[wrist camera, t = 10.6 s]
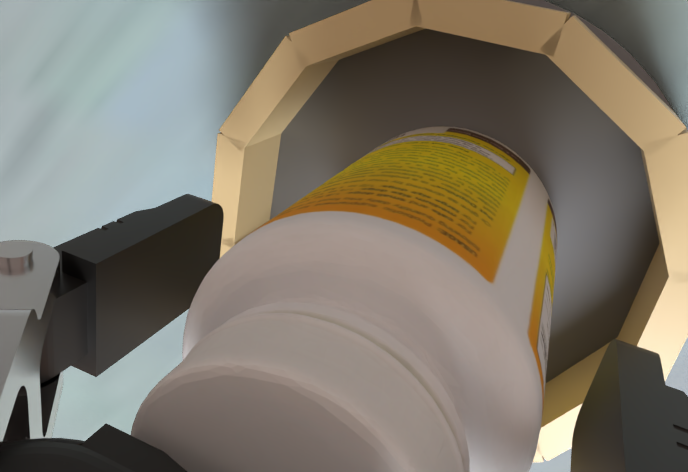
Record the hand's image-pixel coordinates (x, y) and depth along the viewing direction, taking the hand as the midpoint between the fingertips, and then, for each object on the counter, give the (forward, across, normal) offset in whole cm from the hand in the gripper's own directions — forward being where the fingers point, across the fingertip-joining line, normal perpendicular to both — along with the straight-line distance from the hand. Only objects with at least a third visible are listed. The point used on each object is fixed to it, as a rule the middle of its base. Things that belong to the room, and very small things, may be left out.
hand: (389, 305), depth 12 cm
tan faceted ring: (+6, 0, 0) cm, 6 cm away
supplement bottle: (+5, 0, 0) cm, 5 cm away
